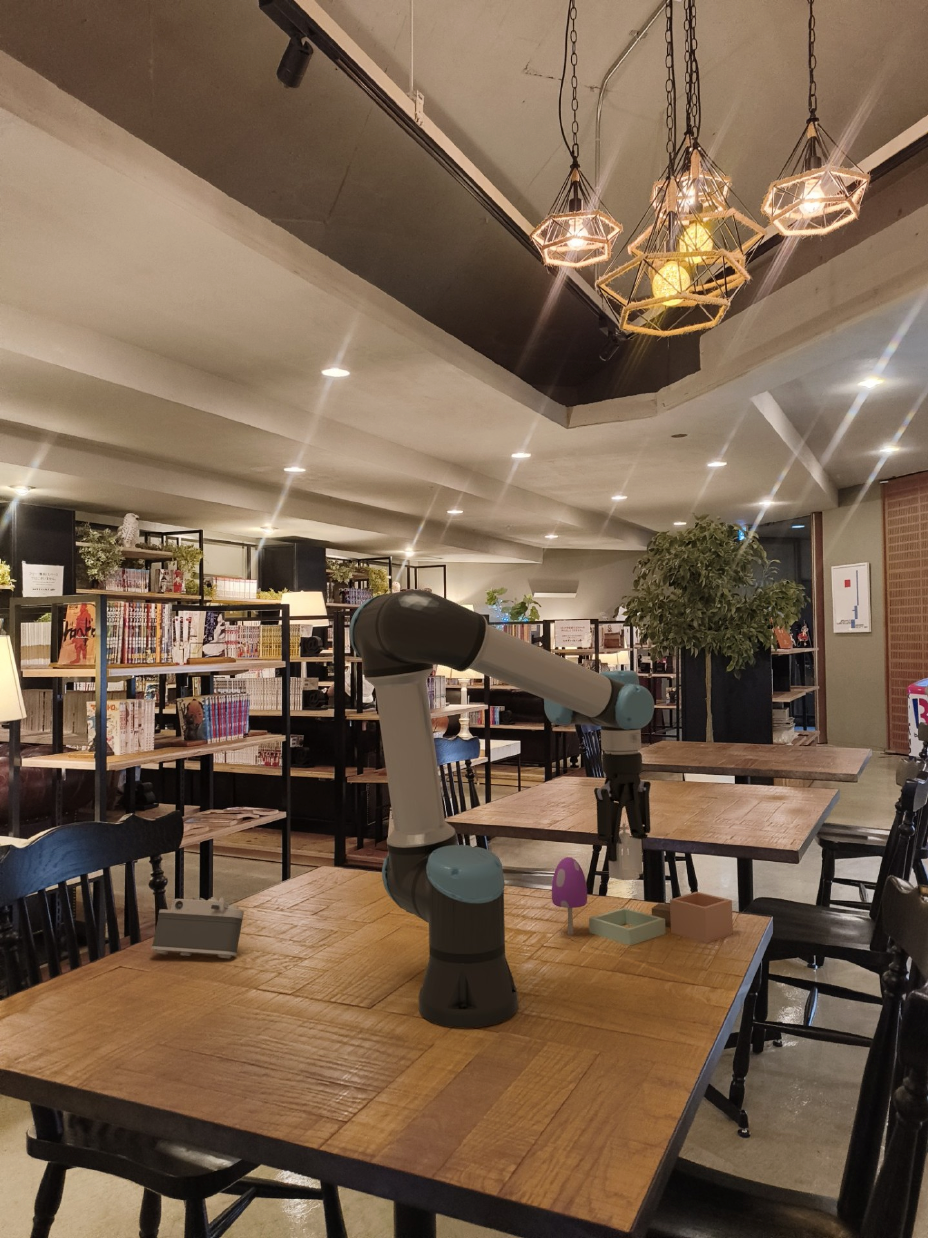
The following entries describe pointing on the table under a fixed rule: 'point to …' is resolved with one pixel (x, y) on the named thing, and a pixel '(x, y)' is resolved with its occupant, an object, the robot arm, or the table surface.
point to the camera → (199, 928)
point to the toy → (569, 887)
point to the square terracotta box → (701, 917)
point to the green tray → (611, 928)
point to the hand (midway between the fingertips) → (625, 875)
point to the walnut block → (662, 913)
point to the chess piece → (626, 856)
